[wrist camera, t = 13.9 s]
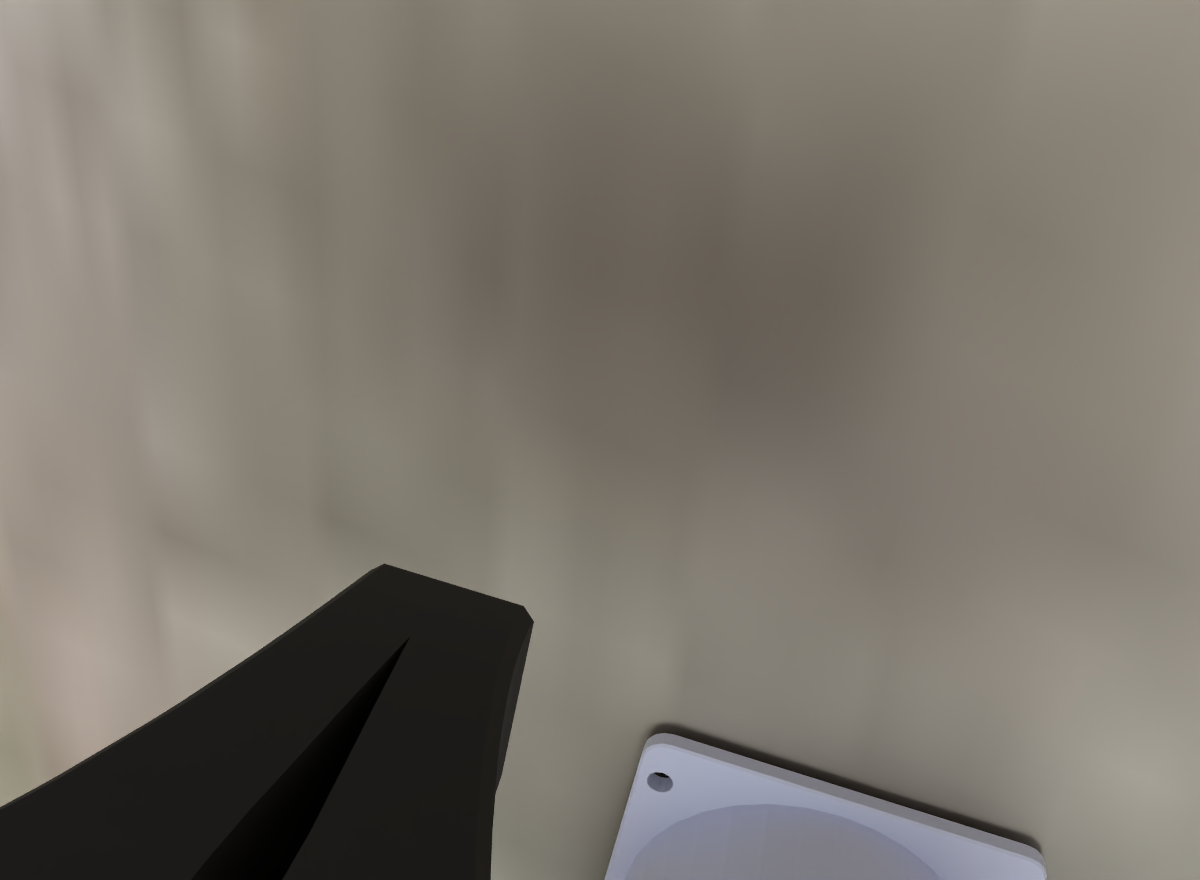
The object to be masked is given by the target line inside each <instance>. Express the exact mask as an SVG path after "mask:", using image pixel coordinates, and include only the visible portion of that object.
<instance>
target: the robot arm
mask: <svg viewBox="0 0 1200 880" xmlns="http://www.w3.org/2000/svg"><path fill="white" fill-rule="evenodd" d="M533 623H534V621H533V619H532V618H531V617H530V615H529V614H528V612H527V611H526V609H525V608H524V606H521V605H518V604H515V603H511V602H508V601H505V600H502V599H498V598H495V597H492V596H488V595H485V594H482V593H479V592H475V591H472V590H469V589H466V588H462V587H459V586H456V585H452V584H449V583H446V582H443V581H439V580H436V579H433V578H429V577H426V576H423V575H420V574H416V573H413V572H410V571H407V570H403V569H400V568H397V567H393V566H390V565H387V564H383V565H381V566H379V567H377V568H375V569H373V570H371V571H369V572H368V573H366V574H365V575H364V576H362V577H361V578H360V579H358V580H357V581H355V582H354V583H353V584H351V585H350V586H349V587H347V588H346V589H345V590H343V591H342V592H340V593H339V594H338V595H336V596H335V597H334V598H332V599H331V600H329V601H328V602H327V603H325V604H324V605H323V606H321V607H320V608H318V609H317V610H316V611H314V612H313V613H312V614H310V615H309V616H307V617H306V618H305V619H303V620H302V621H300V622H299V623H298V624H296V625H295V626H293V627H292V628H290V629H289V630H288V631H286V632H285V633H283V634H282V635H280V636H279V637H277V638H276V639H275V640H273V641H272V642H270V643H269V644H267V645H266V646H265V647H263V648H262V649H260V650H259V651H257V652H256V653H254V654H253V655H251V656H250V657H248V658H247V659H245V660H244V661H242V662H241V663H239V664H238V665H236V666H235V667H233V668H232V669H230V670H229V671H227V672H226V673H224V674H223V675H221V676H220V677H218V678H217V679H215V680H214V681H212V682H210V683H209V684H207V685H206V686H204V687H203V688H201V689H200V690H198V691H197V692H195V693H194V694H192V695H191V696H189V697H188V698H186V699H185V700H183V701H182V702H180V703H179V704H177V705H175V706H174V707H172V708H171V709H169V710H167V711H166V712H164V713H163V714H161V715H159V716H158V717H156V718H155V719H153V720H151V721H150V722H148V723H146V724H145V725H143V726H141V727H139V728H138V729H136V730H134V731H133V732H131V733H129V734H128V735H126V736H124V737H123V738H121V739H119V740H118V741H116V742H114V743H112V744H111V745H109V746H107V747H106V748H104V749H102V750H101V751H99V752H97V753H96V754H94V755H92V756H91V757H89V758H87V759H85V760H84V761H82V762H80V763H79V764H77V765H75V766H74V767H72V768H70V769H69V770H67V771H65V772H63V773H62V774H60V775H58V776H57V777H55V778H53V779H51V780H49V781H48V782H46V783H44V784H42V785H40V786H39V787H37V788H35V789H33V790H31V791H29V792H28V793H26V794H24V795H22V796H20V797H18V798H17V799H15V800H13V801H11V802H9V803H7V804H6V805H4V806H2V807H0V880H491V850H492V828H493V815H494V803H495V793H496V790H497V787H498V784H499V781H500V778H501V775H502V770H503V766H504V761H505V756H506V751H507V747H508V742H509V737H510V732H511V728H512V723H513V718H514V713H515V709H516V704H517V699H518V694H519V690H520V685H521V680H522V675H523V671H524V666H525V661H526V656H527V652H528V647H529V642H530V637H531V633H532V628H533ZM655 772H659V773H664V774H666V775H668V776H669V778H663V777H659V776H657V775H656V774H654V773H655ZM1046 877H1047V873H1046V866H1045V862H1044V858H1043V856H1042V855H1041V854H1040V853H1039V852H1038V851H1037V849H1035V848H1032V847H1030V846H1028V845H1026V844H1023V843H1019V842H1016V841H1013V840H1010V839H1007V838H1003V837H1000V836H997V835H994V834H991V833H987V832H984V831H981V830H978V829H975V828H971V827H968V826H965V825H962V824H959V823H955V822H952V821H949V820H946V819H943V818H939V817H936V816H933V815H930V814H927V813H923V812H920V811H917V810H914V809H911V808H907V807H904V806H901V805H898V804H895V803H891V802H888V801H885V800H882V799H879V798H875V797H872V796H869V795H866V794H863V793H860V792H856V791H853V790H850V789H847V788H844V787H840V786H837V785H834V784H831V783H828V782H824V781H821V780H818V779H815V778H812V777H808V776H805V775H802V774H799V773H796V772H792V771H789V770H786V769H783V768H780V767H776V766H773V765H770V764H767V763H764V762H760V761H757V760H754V759H751V758H748V757H744V756H741V755H738V754H735V753H732V752H728V751H725V750H722V749H719V748H716V747H712V746H709V745H706V744H703V743H700V742H696V741H693V740H690V739H687V738H684V737H681V736H677V735H674V734H668V733H661V734H655V735H653V736H652V737H650V738H648V740H647V741H646V743H645V745H644V748H643V751H642V755H641V758H640V761H639V765H638V768H637V771H636V775H635V778H634V782H633V785H632V788H631V792H630V795H629V798H628V802H627V805H626V808H625V812H624V815H623V819H622V822H621V825H620V829H619V832H618V835H617V839H616V842H615V845H614V849H613V852H612V856H611V859H610V862H609V866H608V869H607V872H606V876H605V879H604V880H1046Z"/></svg>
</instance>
